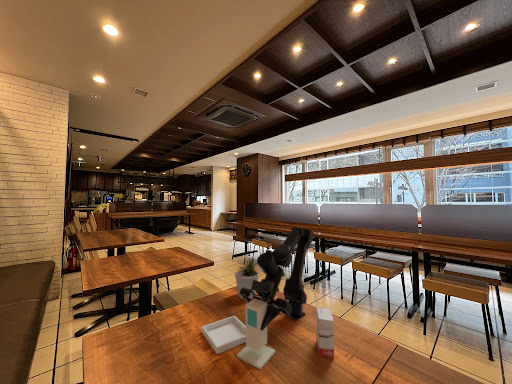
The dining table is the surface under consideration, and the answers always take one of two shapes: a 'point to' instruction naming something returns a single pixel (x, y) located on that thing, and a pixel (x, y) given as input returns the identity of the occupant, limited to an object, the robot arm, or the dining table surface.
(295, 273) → the robot arm
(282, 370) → the dining table surface
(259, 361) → the board
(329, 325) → the ink box
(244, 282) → the potted plant
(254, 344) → the carton
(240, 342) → the parts tray
